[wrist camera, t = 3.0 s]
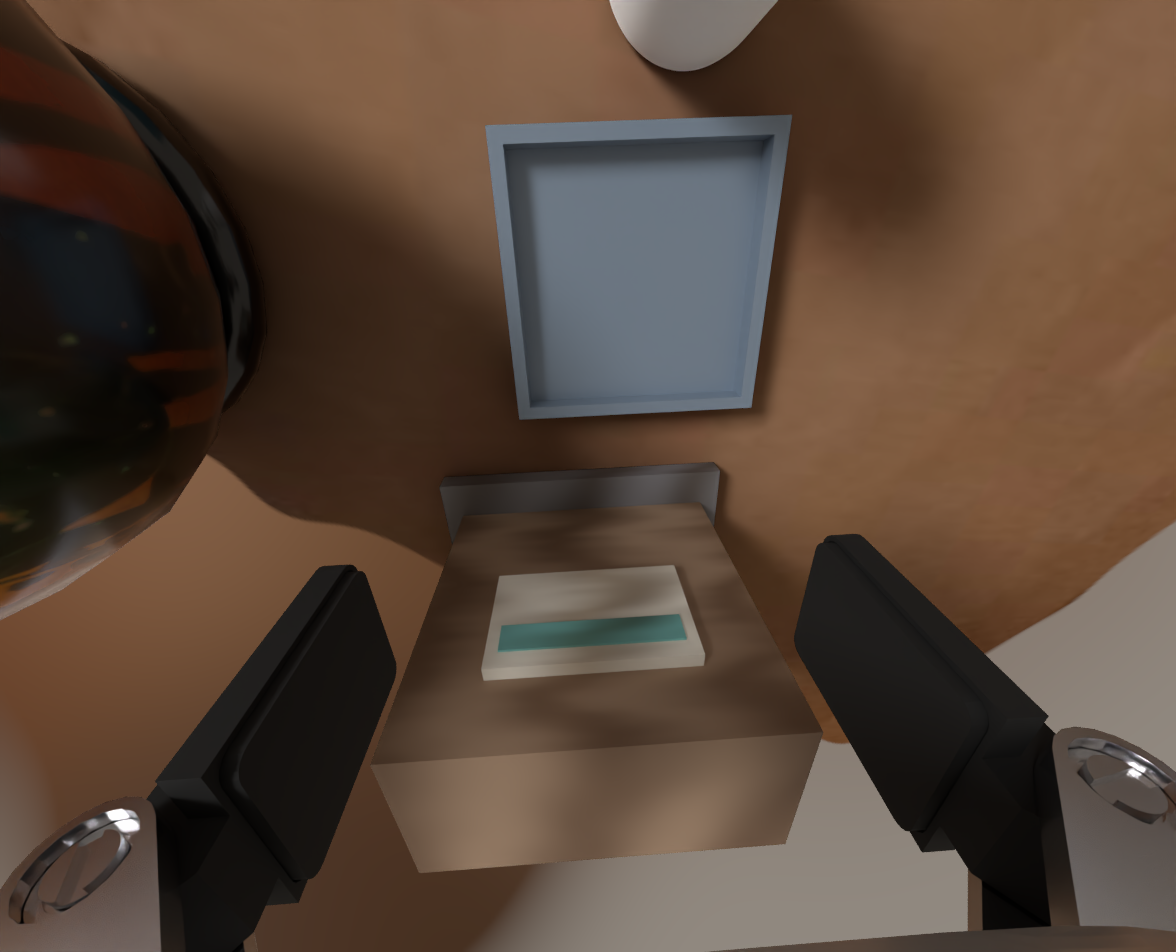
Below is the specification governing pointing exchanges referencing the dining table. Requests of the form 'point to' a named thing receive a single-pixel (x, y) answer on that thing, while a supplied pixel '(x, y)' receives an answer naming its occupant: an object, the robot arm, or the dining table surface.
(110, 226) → the amphora vase
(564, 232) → the tray
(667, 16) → the can
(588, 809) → the block
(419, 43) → the dining table surface
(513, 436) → the dining table surface
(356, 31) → the dining table surface
